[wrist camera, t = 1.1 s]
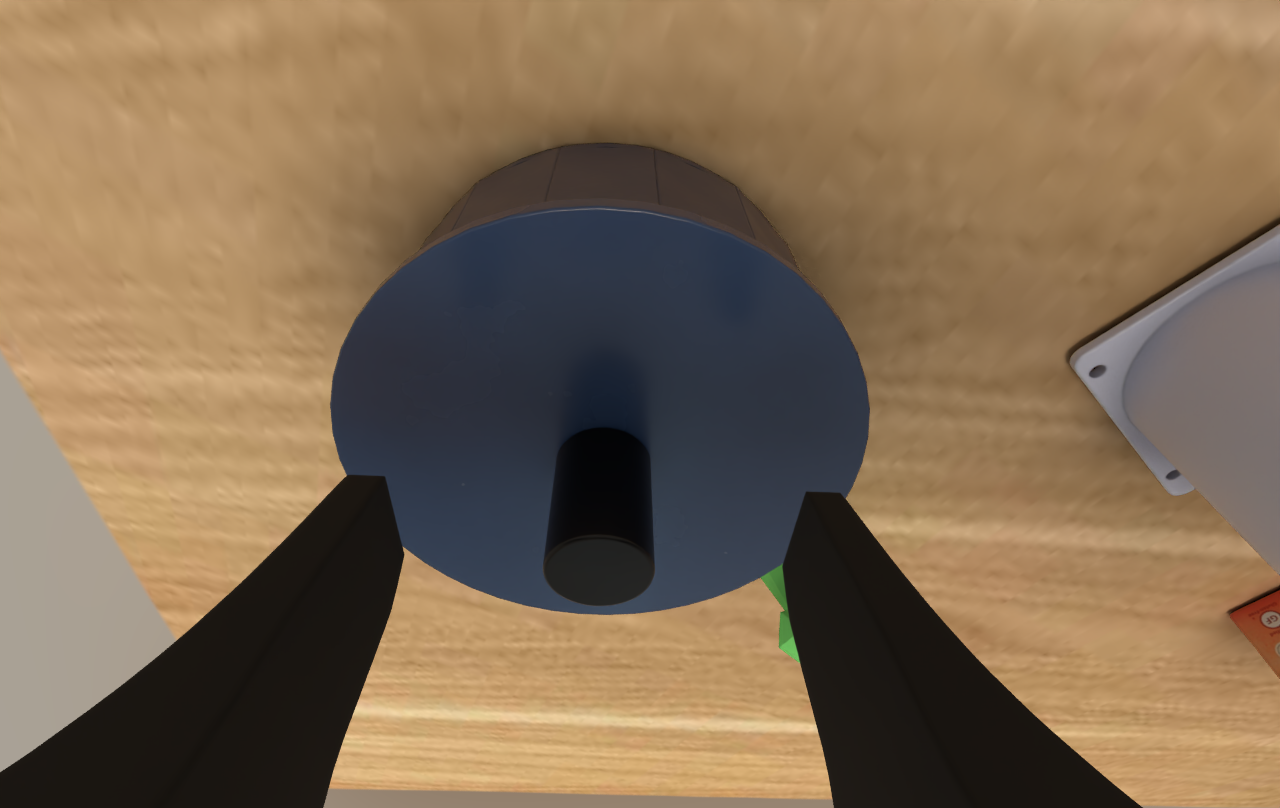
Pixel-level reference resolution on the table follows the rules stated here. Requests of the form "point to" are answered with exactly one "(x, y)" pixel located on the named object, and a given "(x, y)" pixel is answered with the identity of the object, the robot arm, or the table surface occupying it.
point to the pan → (613, 188)
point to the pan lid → (599, 405)
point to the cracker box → (1262, 627)
